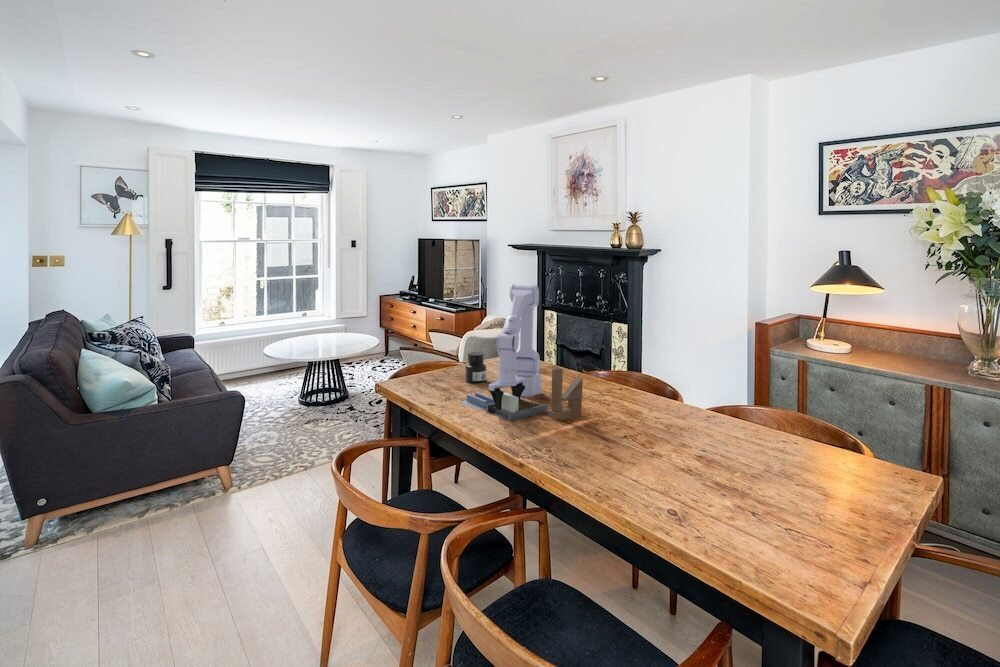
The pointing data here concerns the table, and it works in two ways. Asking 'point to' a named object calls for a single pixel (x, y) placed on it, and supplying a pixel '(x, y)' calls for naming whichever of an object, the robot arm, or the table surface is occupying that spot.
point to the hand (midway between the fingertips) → (507, 407)
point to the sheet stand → (478, 401)
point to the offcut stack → (526, 404)
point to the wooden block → (565, 397)
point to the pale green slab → (509, 403)
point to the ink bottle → (475, 368)
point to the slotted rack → (516, 415)
